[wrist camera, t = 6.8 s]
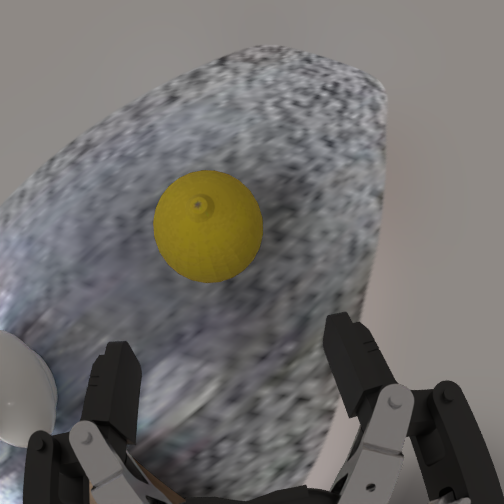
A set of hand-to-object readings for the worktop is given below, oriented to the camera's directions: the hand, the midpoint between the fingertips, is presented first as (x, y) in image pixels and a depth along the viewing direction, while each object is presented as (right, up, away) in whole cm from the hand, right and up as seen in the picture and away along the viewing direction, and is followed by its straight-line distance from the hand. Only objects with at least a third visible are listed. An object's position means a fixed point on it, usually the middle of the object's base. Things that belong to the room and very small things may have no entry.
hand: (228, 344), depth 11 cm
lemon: (-1, +4, +8) cm, 9 cm away
